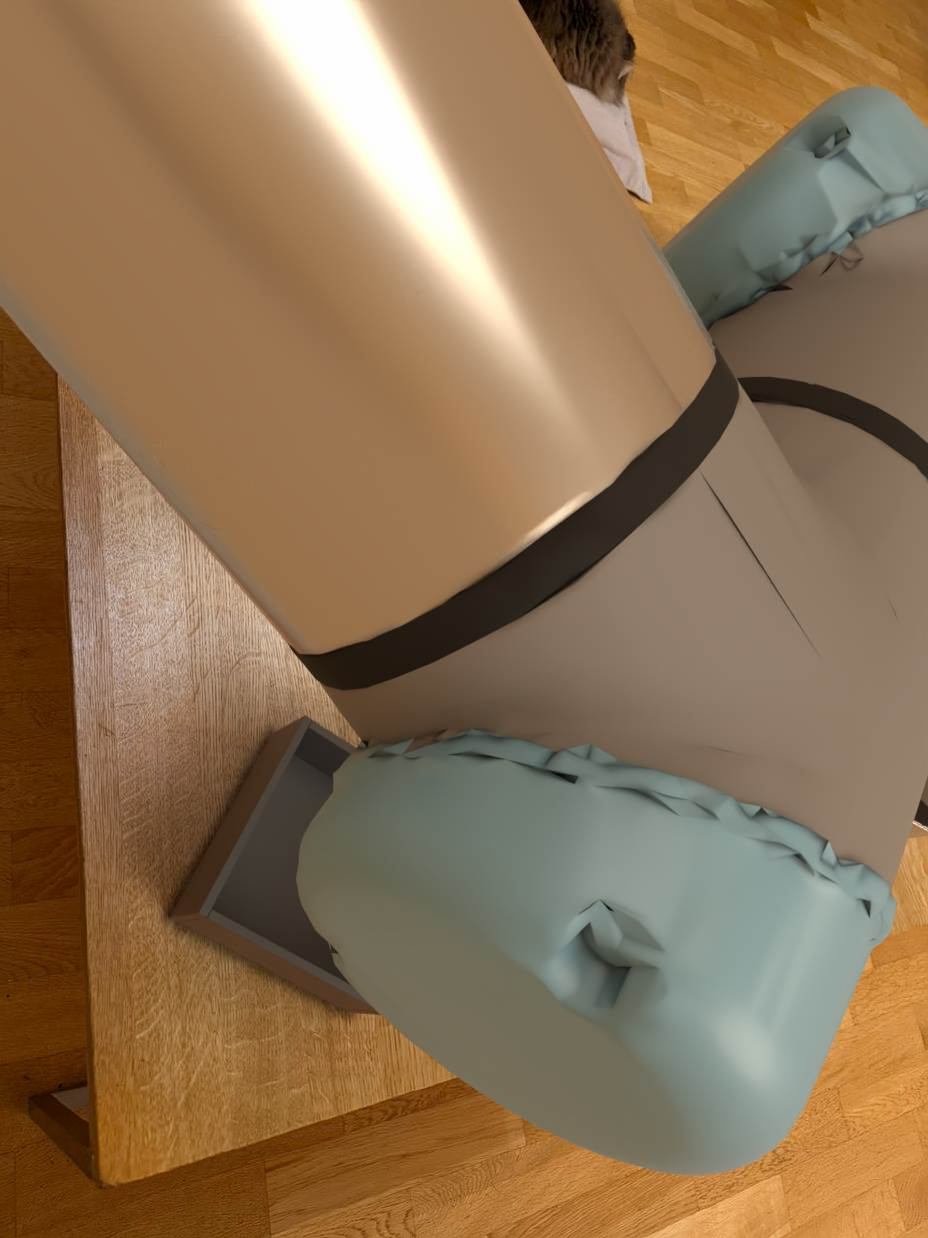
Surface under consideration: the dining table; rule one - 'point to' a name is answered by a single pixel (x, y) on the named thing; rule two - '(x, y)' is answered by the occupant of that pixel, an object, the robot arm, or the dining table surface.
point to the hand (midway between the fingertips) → (468, 819)
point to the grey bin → (272, 866)
